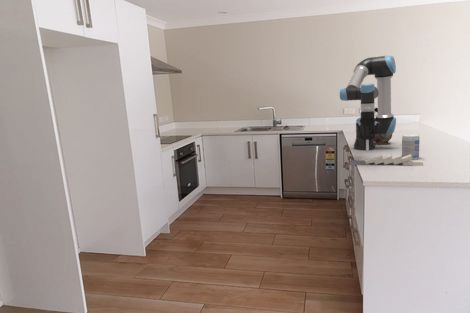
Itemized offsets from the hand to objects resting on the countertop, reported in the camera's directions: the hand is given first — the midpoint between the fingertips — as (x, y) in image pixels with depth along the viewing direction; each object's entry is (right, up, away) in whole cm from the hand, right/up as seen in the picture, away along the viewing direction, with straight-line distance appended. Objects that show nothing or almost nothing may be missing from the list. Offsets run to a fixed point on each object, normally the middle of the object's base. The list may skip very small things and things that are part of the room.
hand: (367, 150), depth 206 cm
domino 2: (+4, -7, 0) cm, 8 cm away
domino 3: (+9, -7, -2) cm, 12 cm away
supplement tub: (+29, -5, +8) cm, 31 cm away
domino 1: (0, -7, +2) cm, 7 cm away
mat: (+8, -8, +1) cm, 11 cm away
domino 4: (+14, -7, -4) cm, 16 cm away
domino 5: (+18, -7, -6) cm, 20 cm away
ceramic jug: (+36, +6, +63) cm, 73 cm away
